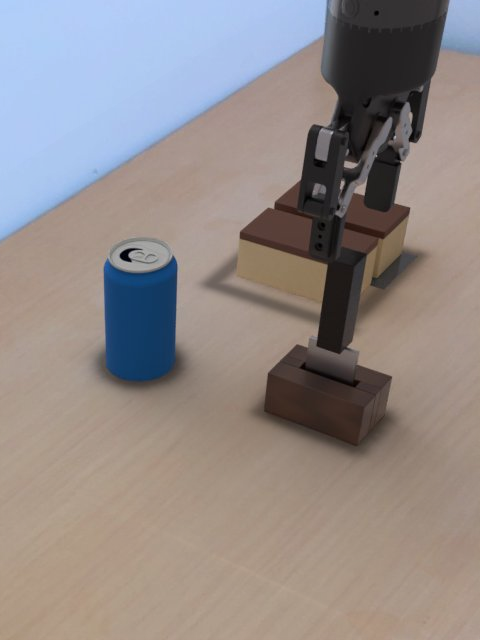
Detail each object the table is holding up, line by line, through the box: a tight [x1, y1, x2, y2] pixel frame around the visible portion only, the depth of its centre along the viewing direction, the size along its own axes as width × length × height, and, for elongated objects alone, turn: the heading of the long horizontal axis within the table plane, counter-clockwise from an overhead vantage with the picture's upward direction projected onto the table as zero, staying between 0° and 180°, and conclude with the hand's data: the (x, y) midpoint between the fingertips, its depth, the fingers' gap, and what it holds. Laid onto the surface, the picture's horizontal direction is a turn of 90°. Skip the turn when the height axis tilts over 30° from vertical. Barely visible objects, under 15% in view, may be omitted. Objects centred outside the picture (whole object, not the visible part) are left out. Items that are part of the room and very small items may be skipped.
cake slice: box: [236, 207, 379, 304], centre depth 108 cm, size 12×5×5 cm, turn 50°
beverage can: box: [103, 236, 179, 382], centre depth 100 cm, size 6×6×12 cm
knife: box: [305, 247, 367, 387], centre depth 91 cm, size 4×2×15 cm, turn 50°
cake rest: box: [273, 179, 411, 278], centre depth 111 cm, size 12×5×5 cm, turn 50°
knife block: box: [263, 343, 393, 447], centre depth 95 cm, size 9×5×5 cm, turn 50°
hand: (351, 232), depth 83 cm, fingers open, 8 cm apart
